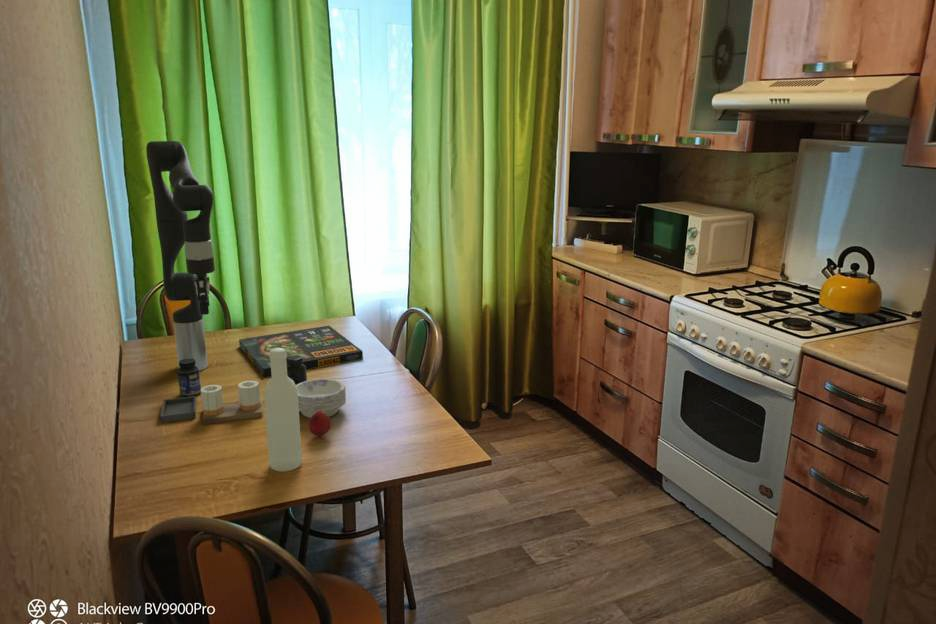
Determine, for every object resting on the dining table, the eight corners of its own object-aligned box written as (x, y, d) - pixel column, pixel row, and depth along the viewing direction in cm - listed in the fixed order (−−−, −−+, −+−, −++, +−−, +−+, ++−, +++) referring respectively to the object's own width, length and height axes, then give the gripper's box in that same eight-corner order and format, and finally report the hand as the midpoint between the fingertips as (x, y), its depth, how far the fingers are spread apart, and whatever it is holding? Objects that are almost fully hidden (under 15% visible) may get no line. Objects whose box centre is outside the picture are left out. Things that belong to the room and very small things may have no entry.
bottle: (305, 456, 168) (298, 344, 159) (299, 472, 160) (290, 355, 152) (273, 456, 167) (264, 344, 159) (265, 472, 160) (255, 355, 151)
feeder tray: (164, 406, 196) (163, 399, 195) (196, 402, 199) (196, 395, 198) (161, 422, 185) (160, 416, 185) (195, 418, 188) (194, 412, 188)
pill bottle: (193, 399, 201) (189, 365, 198) (175, 397, 202) (171, 363, 199) (205, 391, 207) (201, 358, 204) (187, 389, 208) (183, 356, 205)
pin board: (203, 410, 193) (201, 389, 191) (260, 403, 199) (258, 383, 197) (202, 424, 184) (200, 403, 182) (262, 416, 190) (260, 395, 188)
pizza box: (329, 334, 265) (329, 325, 264) (362, 360, 236) (362, 351, 235) (239, 348, 248) (238, 339, 247) (264, 378, 219) (263, 368, 218)
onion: (320, 444, 174) (319, 416, 172) (304, 438, 177) (303, 411, 175) (335, 435, 179) (334, 408, 177) (320, 430, 182) (318, 403, 179)
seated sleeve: (237, 406, 193) (235, 383, 191) (255, 401, 196) (253, 379, 194) (245, 412, 189) (243, 389, 187) (263, 406, 192) (261, 384, 191)
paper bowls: (327, 397, 203) (326, 373, 201) (356, 412, 193) (355, 387, 191) (283, 411, 193) (281, 386, 191) (311, 428, 183) (309, 402, 180)
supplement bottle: (312, 393, 206) (310, 357, 203) (293, 400, 201) (290, 363, 198) (299, 387, 210) (297, 352, 207) (280, 393, 206) (278, 357, 202)
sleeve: (203, 408, 191) (201, 386, 189) (223, 406, 193) (221, 383, 191) (203, 416, 186) (200, 393, 184) (223, 413, 188) (221, 390, 186)
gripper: (186, 252, 194) (192, 305, 199) (184, 261, 181) (190, 318, 186) (213, 250, 197) (218, 303, 201) (213, 260, 184) (218, 315, 188)
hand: (205, 310), depth 194 cm, fingers open, 8 cm apart
